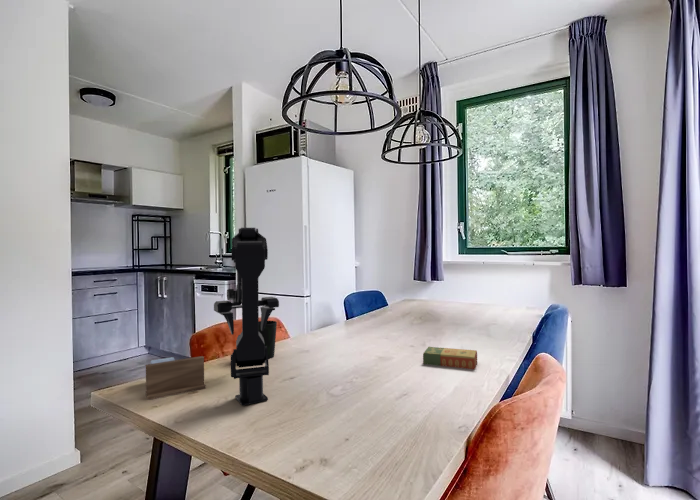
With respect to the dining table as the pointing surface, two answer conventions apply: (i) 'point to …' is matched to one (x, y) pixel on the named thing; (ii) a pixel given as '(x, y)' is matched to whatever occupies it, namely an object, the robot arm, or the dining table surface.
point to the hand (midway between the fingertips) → (247, 332)
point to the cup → (269, 336)
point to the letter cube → (162, 360)
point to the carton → (450, 357)
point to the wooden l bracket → (174, 377)
